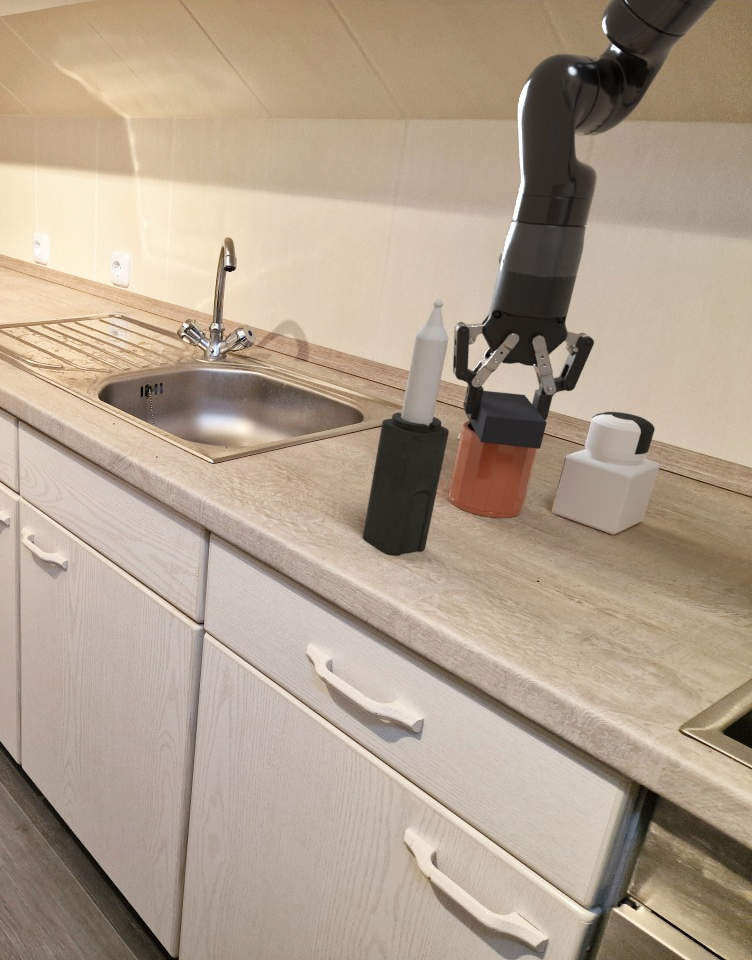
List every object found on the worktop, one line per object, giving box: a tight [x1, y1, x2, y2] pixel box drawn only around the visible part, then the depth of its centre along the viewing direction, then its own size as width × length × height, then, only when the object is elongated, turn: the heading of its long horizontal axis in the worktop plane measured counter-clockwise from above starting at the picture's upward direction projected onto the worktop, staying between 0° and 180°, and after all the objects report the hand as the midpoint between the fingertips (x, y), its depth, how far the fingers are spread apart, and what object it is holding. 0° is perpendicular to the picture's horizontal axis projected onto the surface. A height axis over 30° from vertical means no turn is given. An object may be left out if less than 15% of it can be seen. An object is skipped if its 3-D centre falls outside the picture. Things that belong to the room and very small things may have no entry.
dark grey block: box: [465, 390, 548, 450], centre depth 95 cm, size 6×11×3 cm, turn 167°
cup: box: [448, 420, 539, 519], centre depth 97 cm, size 8×8×9 cm
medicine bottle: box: [551, 411, 660, 536], centre depth 94 cm, size 7×7×12 cm
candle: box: [362, 298, 450, 556], centre depth 83 cm, size 5×5×25 cm
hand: (502, 420), depth 95 cm, fingers closed on dark grey block, 6 cm apart
